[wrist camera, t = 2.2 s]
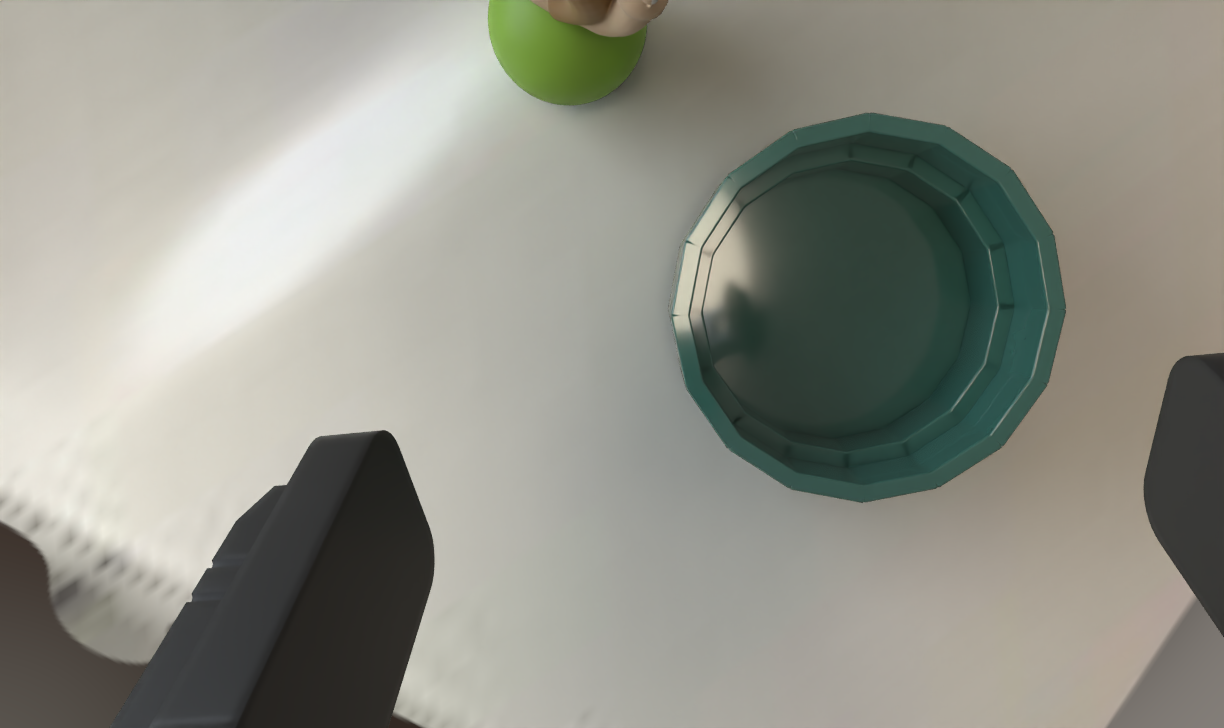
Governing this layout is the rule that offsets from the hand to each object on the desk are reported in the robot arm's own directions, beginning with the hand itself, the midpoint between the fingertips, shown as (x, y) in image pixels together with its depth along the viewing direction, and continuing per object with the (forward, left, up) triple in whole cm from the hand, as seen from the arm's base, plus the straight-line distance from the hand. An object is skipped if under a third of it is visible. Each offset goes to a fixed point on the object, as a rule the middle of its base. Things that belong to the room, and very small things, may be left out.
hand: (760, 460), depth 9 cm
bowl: (+4, +4, -24) cm, 24 cm away
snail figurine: (-9, +7, -24) cm, 26 cm away
